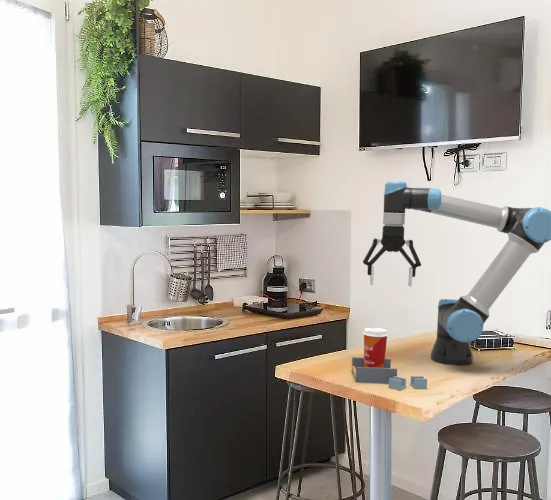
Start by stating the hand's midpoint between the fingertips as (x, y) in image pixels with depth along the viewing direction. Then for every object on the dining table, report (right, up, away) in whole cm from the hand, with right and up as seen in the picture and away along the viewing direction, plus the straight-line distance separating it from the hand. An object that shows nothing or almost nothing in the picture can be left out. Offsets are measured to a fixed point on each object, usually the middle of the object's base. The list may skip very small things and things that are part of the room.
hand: (390, 285), depth 214 cm
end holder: (-9, -29, -15) cm, 34 cm away
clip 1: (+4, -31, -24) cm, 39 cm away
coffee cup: (-8, -29, -15) cm, 34 cm away
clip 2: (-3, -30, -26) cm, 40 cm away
